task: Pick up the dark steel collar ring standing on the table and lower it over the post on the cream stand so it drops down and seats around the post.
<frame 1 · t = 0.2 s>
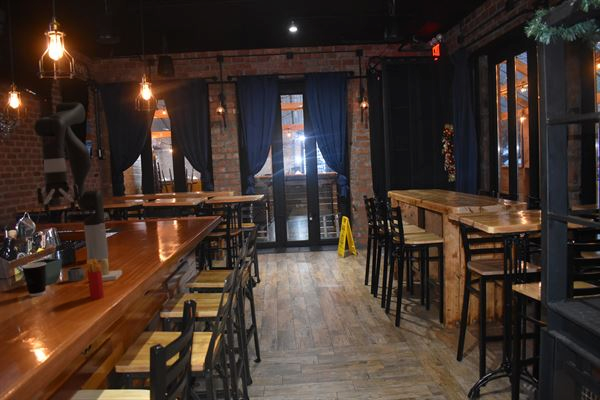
hand: (60, 212, 189), 28 cm above the bar counter, tool pointing down, fingers open, 8 cm apart
flower pot: (47, 283, 193), on the bar counter
dixie cup: (37, 295, 177), on the bar counter
stand: (106, 277, 195), on the bar counter
ring: (76, 279, 196), on the bar counter
french fries: (97, 297, 168), on the bar counter
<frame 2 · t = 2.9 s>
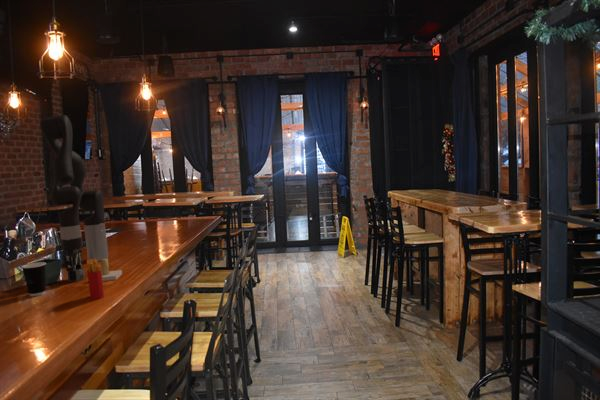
hand: (76, 278, 196), 1 cm above the bar counter, tool pointing down, fingers closed on ring, 6 cm apart
ring: (76, 279, 196), on the bar counter, touching gripper
everything else where it was.
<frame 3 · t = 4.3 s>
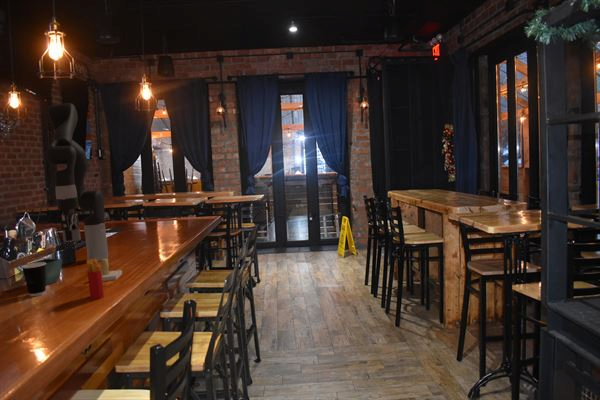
hand: (72, 238, 194), 17 cm above the bar counter, tool pointing down, fingers closed on ring, 6 cm apart
ring: (72, 240, 195), point 16 cm above the bar counter, touching gripper
everything else where it was.
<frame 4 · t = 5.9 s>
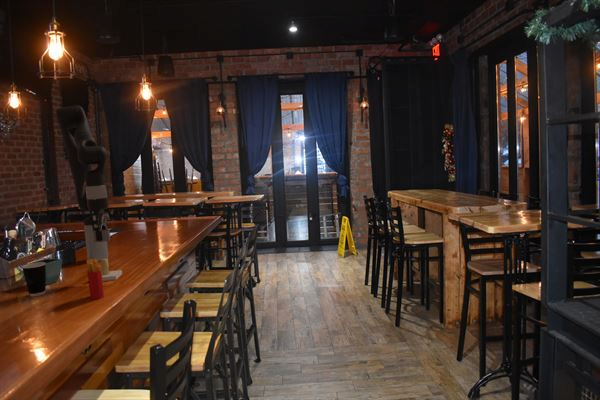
hand: (101, 239, 194), 16 cm above the bar counter, tool pointing down, fingers closed on ring, 6 cm apart
ring: (101, 240, 194), point 15 cm above the bar counter, touching gripper
everything else where it was.
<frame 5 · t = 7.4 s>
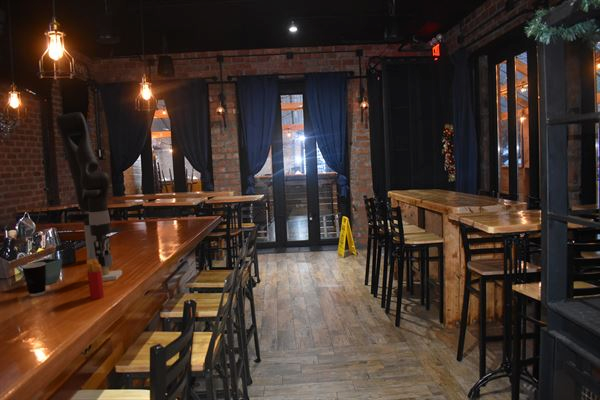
hand: (104, 264, 195), 6 cm above the bar counter, tool pointing down, fingers closed on ring, 6 cm apart
ring: (104, 265, 195), point 5 cm above the bar counter, touching gripper
everything else where it was.
when the fingers open (4 cm above the bar counter, at t = 8.9 s): ring drops 1 cm, resting on stand.
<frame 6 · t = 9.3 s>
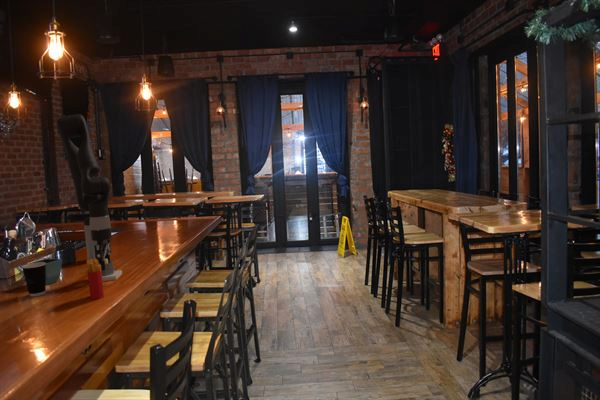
hand: (105, 267, 195), 4 cm above the bar counter, tool pointing down, fingers open, 8 cm apart
ring: (105, 274, 195), point 1 cm above the bar counter, touching stand
everything else where it was.
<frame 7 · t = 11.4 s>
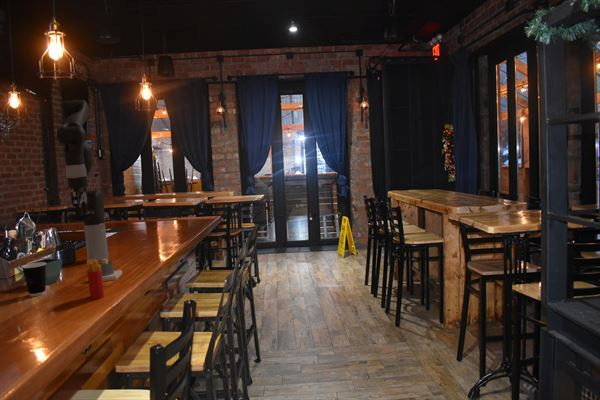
hand: (82, 215, 202), 25 cm above the bar counter, tool pointing down, fingers open, 8 cm apart
nothing on the bar counter moved.
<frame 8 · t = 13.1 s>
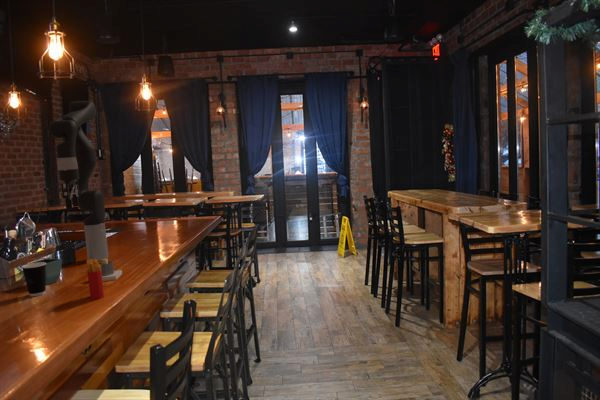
hand: (72, 207, 205), 28 cm above the bar counter, tool pointing down, fingers open, 8 cm apart
nothing on the bar counter moved.
at the end: ring 0.1 cm off-centre on the stand, point 1.5 cm above the stand's base; the gripper is holding nothing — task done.
